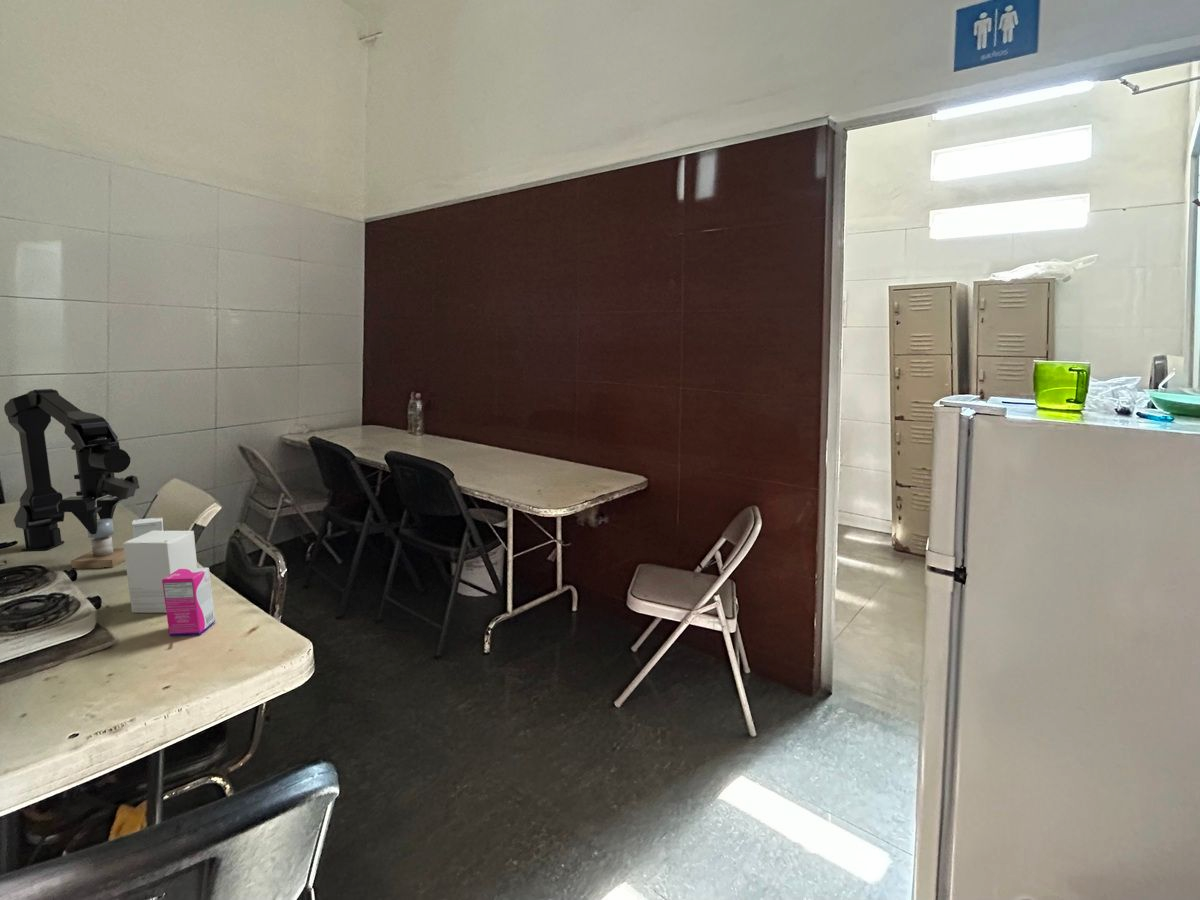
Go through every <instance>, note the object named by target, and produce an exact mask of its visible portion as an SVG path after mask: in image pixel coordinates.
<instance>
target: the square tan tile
mask: <svg viewBox="0 0 1200 900" xmlns="http://www.w3.org/2000/svg"><path fill="white" fill-rule="evenodd" d="M90 540H91V548H92V550H90V551H88V552H87V553H84V554H82V555H81V556H78V557H76V558H74V559H72V560H70V563H71V569H72V568H76V569H75V570H77V569H78V570H79V569H81V570H82V569H105V568H104V567H113V568H114V566H115V567H116V565H117V566H119V565H120V564H122V563H124V562H126V561H125V553H124V547H122V548H119V547H117V548H114V544H113V537H112V536H111V535H110V536H106V537H100V538H91V539H90ZM123 561H124V562H123ZM121 562H122V563H121ZM119 563H120V564H119ZM102 567H103V568H102Z"/></svg>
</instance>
